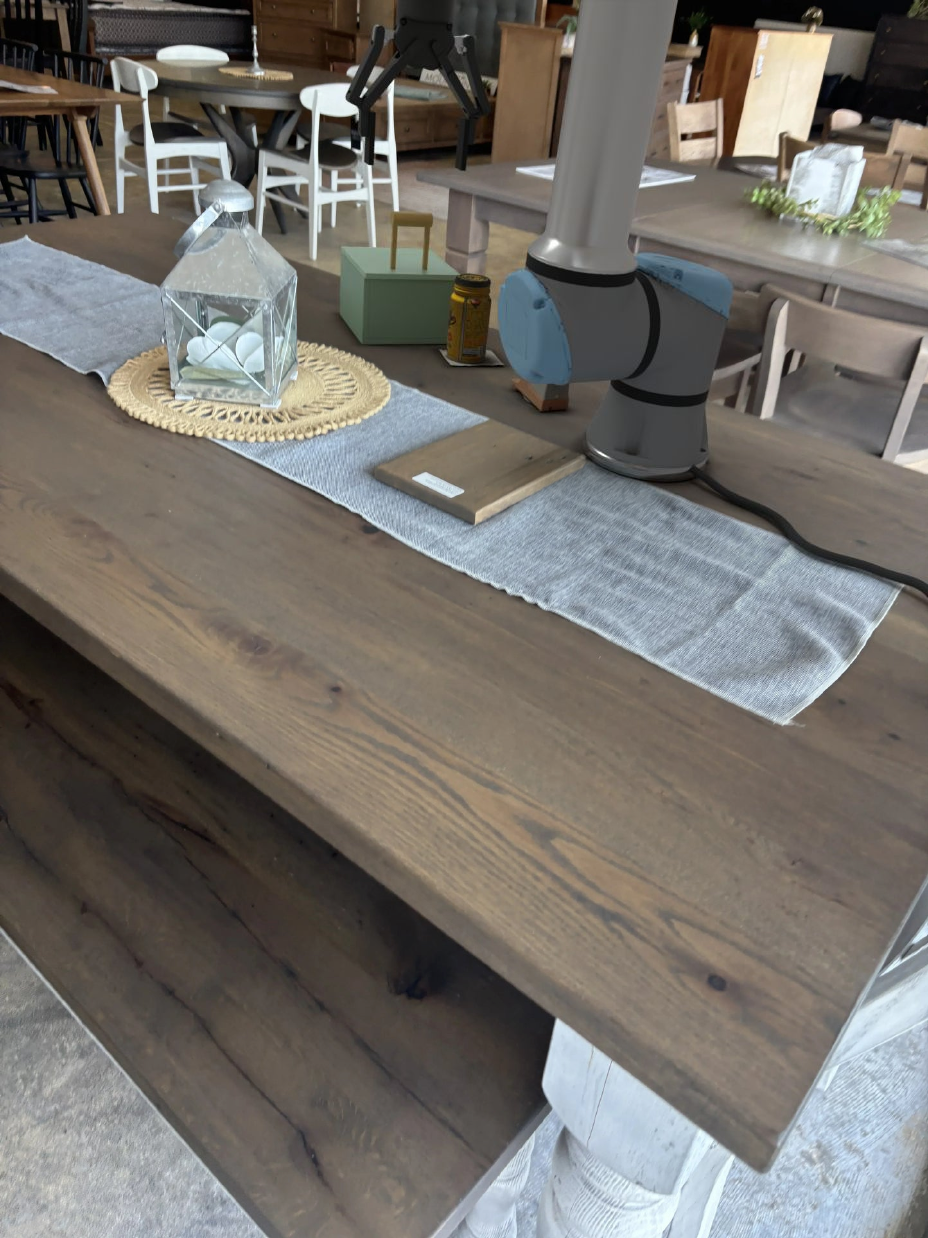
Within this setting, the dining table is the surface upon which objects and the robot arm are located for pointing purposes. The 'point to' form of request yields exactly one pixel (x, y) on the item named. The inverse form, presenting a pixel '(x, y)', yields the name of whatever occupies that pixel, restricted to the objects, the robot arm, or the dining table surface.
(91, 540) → the dining table surface
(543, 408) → the electronic device
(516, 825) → the dining table surface
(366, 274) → the lid
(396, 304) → the chest
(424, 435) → the dining table surface
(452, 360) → the condiment
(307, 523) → the dining table surface
